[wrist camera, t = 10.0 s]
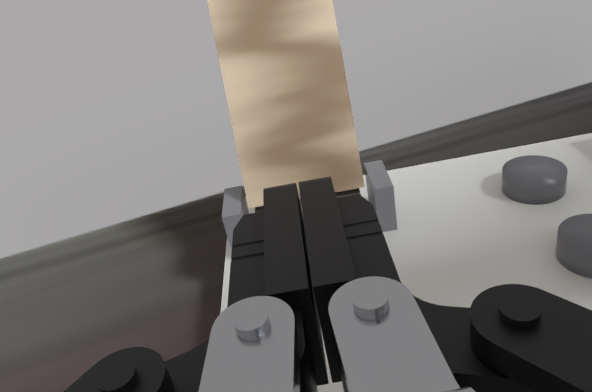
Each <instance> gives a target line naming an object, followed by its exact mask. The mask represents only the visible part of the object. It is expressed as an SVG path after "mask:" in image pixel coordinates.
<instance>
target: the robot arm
mask: <svg viewBox="0 0 592 392" xmlns="http://www.w3.org/2000/svg"><path fill="white" fill-rule="evenodd" d="M299 190H300V197H301V205H302V210H301V205H300V200H299V195H298V190H297V185H296V183H291V184H286V185H280V186H275V187H269V188H264V189H263V206H264V211H261V212H256V213H250V214H245V215H243V216H242V218H241V219H240V221H239V222H238V224H237V225H236V227H235V228H234V229H233V239H232V252H231V266H230V279H229V292H228V305H227V308H226V309H225V310H224V311H223V312H222V313H221V314H220V315H219V316H218V317H217V319H216V320H215V322H214V324H213V326H212V329H211V333H210V338H209V339H208V340H207V341H206V342H205V343H203V344H202V345H200V346H198V347H197V348H195V349H193V350H191V351H188V352H186V353H184V354H181V355H179V356H177V357H175V358H172V359H170V360H168V361H165V362H164V361H163V359H162V357H161V356H160V355H159V354H158V353H157V352H155V351H154V350H151V349H149V348H144V347H133V348H127V349H123V350H120V351H117V352H115V353H112V354H110V355H108V356H106V357H105V358H103V359H102V360H100V361H99V362H98V363H96V364H95V365H94V366H93V367H91V368H90V369H89V370H88V371H87V372H86V373H85V374H83V375H82V376H81V377H80V378H79V379H78V380H77V381H76V382H74V383H73V384H72V385H71V386H70V387H69V388H68V389H67V390H65V391H64V392H318V391H317V386H319V385H325V384H329V382H328V375H327V368H326V361H325V353H324V346H323V340H324V345H325V350H326V354H327V359H328V364H329V369H330V374H331V379H332V383H335V382H341V381H342V385H343V390H344V392H592V310H590V309H587V308H585V307H582V306H580V305H578V304H575V303H573V302H570V301H568V300H566V299H563V298H561V297H559V296H556V295H554V294H551V293H549V292H547V291H544V290H542V289H539V288H536V287H532V286H528V285H521V284H504V285H498V286H494V287H491V288H488V289H486V290H485V291H483V292H481V293H480V294H479V295H477V297H476V298H475V299H474V300H473V302H472V304H471V308H467V307H453V306H442V305H436V304H432V303H429V302H426V301H423V300H421V299H419V298H417V297H415V296H414V295H412V293H411V292H410V290H409V289H408V288H407V287H406V286H404V285H403V284H402V283H401V281H400V278H399V276H398V273H397V270H396V267H395V265H394V262H393V259H392V256H391V254H390V251H389V248H388V245H387V242H386V240H385V237H384V234H383V232H382V229H381V226H380V223H379V222H378V218H377V215H376V212H375V209H374V207H373V204H371V203H370V202H369V201H367V200H366V199H365V198H364V197H362V196H361V195H360V194H354V195H349V196H343V197H338V198H336V195H335V191H334V187H333V183H332V179H331V176H329V177H323V178H318V179H312V180H307V181H301V182H299ZM302 212H303V215H302ZM303 219H304V220H303ZM321 330H322V332H321ZM322 335H323V339H322Z"/></svg>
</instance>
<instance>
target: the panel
mask: <svg viewBox="0 0 592 392" xmlns="http://www.w3.org/2000/svg"><path fill="white" fill-rule="evenodd" d="M364 168H365V175H363V179H364V185H365V187H362V188H359V190H360V194H361V196H362V197H364V198H365V199H366V200H367V201H369V202H370V203H371V204H373V207H374V209H375V212H376V215H377V218H378V222H379V223H380V226H381V229H382V232H383V234H384V237H385V240H386V242H387V245H388V248H389V251H390V254H391V256H392V259H393V262H394V265H395V267H396V270H397V273H398V276H399V278H400V281H401V283H402V284H403V285H404V286H406V287H407V288H408V289H409V290H410V292H411V293H412V295H414V296H415V297H417V298H419V299H421V300H423V301H426V302H429V303H432V304H436V305H442V306H453V307H467V308H471V304H472V302H473V300H474V299H475V298H476V297H477V295H479V294H480V293H481V292H483V291H485V290H486V289H488V288H491V287H494V286H498V285H504V284H521V285H528V286H532V287H536V288H539V289H542V290H544V291H547V292H549V293H551V294H554V295H556V296H559V297H561V298H563V299H566V300H568V301H570V302H573V303H575V304H578V305H580V306H582V307H585V308H587V309H590V310H592V133H589V134H584V135H578V136H573V137H567V138H562V139H557V140H551V141H546V142H540V143H535V144H530V145H524V146H519V147H513V148H508V149H503V150H497V151H492V152H486V153H481V154H476V155H470V156H465V157H459V158H454V159H449V160H443V161H438V162H432V163H427V164H422V165H416V166H411V167H405V168H400V169H395V170H389V171H386V169H385V167H384V164H383V162H382V160H378V161H373V162H367V163H364ZM250 213H255V207H254V208H248V203H247V198H246V197H245V195H244V192H243V188H242V186H238V187H233V188H228V189H225V191H224V200H223V209H222V221H223V224H224V227H225V231H226V234H227V243H226V255H225V266H224V278H223V290H222V301H221V313H222V312H223V311H224V310H225V309H226V308H227V305H228V292H229V279H230V266H231V252H232V239H233V229H234V228H235V227H236V225H237V224H238V222H239V221H240V219H241V218H242V216H243V215H245V214H250ZM221 313H220V314H221ZM321 332H322V330H321ZM322 339H323V335H322ZM323 346H324V353H325V361H326V368H327V375H328V382H329V384H325V385H319V386H317V391H318V392H344V390H343V385H342V381H341V382H335V383H332V379H331V374H330V369H329V364H328V359H327V354H326V350H325V345H324V340H323Z"/></svg>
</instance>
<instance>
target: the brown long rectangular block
mask: <svg viewBox="0 0 592 392" xmlns="http://www.w3.org/2000/svg"><path fill="white" fill-rule="evenodd" d="M207 1H208V6H209V11H210V17H211V21H212V27H213V31H214V37H215V42H216V47H217V52H218V57H219V62H220V67H221V72H222V77H223V82H224V87H225V92H226V97H227V101H228V106H229V112H230V117H231V122H232V127H233V132H234V137H235V142H236V147H237V152H238V157H239V162H240V167H241V172H242V178H243V183H244V188H245V193H246V198H247V203H248V208H254V207H255V213H256V212H261V211H264V206H263V189H264V188H269V187H275V186H280V185H286V184H291V183H296V185H297V190H298V195H299V200H300V205H301V197H300V190H299V182H301V181H307V180H312V179H318V178H323V177H329V176H331V179H332V183H333V187H334V191H335V195H336V198H338V197H343V196H349V195H354V194H360V190H359V188H362V187H365V185H364V179H363V174H362V168H361V162H360V156H359V151H358V145H357V139H356V133H355V127H354V122H353V116H352V111H351V105H350V99H349V93H348V87H347V81H346V76H345V70H344V64H343V59H342V53H341V47H340V41H339V35H338V30H337V24H336V18H335V13H334V7H333V1H332V0H207ZM360 195H361V194H360ZM301 210H302V205H301ZM302 215H303V212H302ZM303 220H304V219H303Z"/></svg>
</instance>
